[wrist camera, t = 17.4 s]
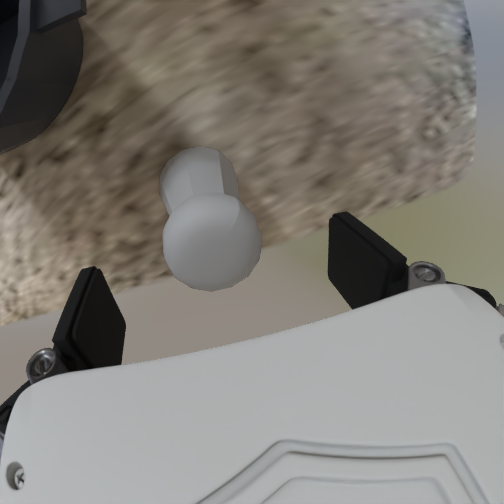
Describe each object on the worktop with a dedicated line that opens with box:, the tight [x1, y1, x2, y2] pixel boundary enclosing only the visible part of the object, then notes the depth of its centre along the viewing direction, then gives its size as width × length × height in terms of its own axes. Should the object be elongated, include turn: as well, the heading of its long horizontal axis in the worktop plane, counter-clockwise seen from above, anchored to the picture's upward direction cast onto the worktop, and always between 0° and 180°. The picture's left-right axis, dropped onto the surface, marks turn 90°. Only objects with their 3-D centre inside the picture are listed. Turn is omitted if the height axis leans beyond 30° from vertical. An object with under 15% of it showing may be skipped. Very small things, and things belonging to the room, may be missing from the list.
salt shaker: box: [159, 146, 262, 291], centre depth 17 cm, size 6×6×13 cm
